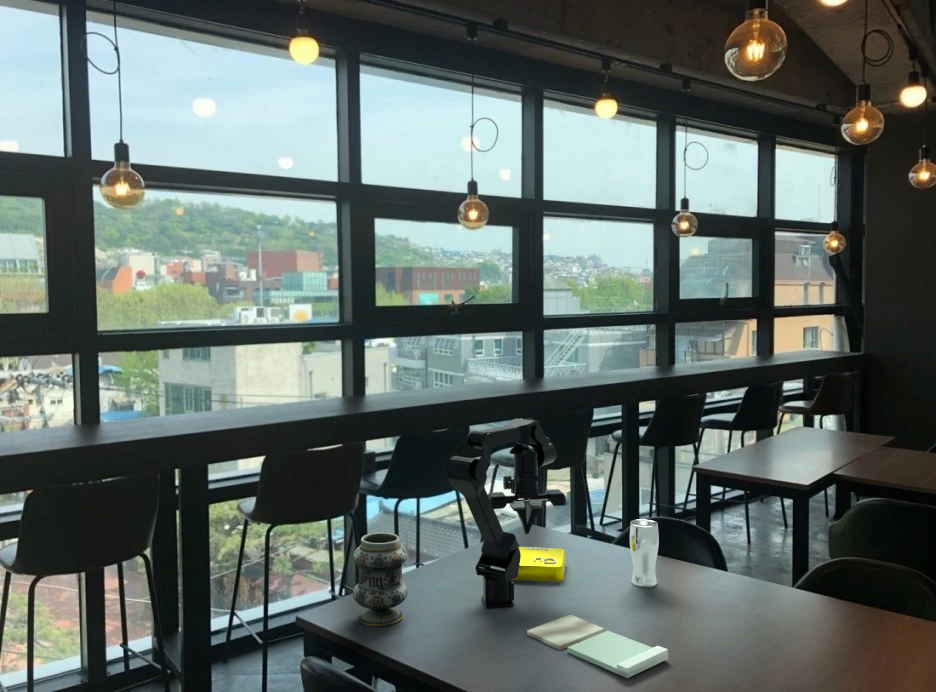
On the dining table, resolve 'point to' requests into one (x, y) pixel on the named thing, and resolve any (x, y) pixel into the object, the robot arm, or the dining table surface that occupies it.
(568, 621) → the plate
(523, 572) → the element tile
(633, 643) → the panel
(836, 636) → the dining table surface
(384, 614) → the apothecary jar
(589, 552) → the dining table surface
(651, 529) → the beer glass
